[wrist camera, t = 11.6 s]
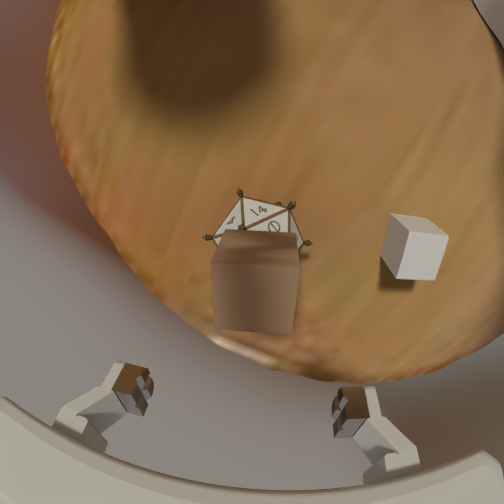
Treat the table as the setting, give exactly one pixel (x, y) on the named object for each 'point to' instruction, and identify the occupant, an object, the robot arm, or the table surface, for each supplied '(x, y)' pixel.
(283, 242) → the walnut block
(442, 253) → the grey block
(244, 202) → the game die
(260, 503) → the robot arm
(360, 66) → the table surface
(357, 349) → the table surface
